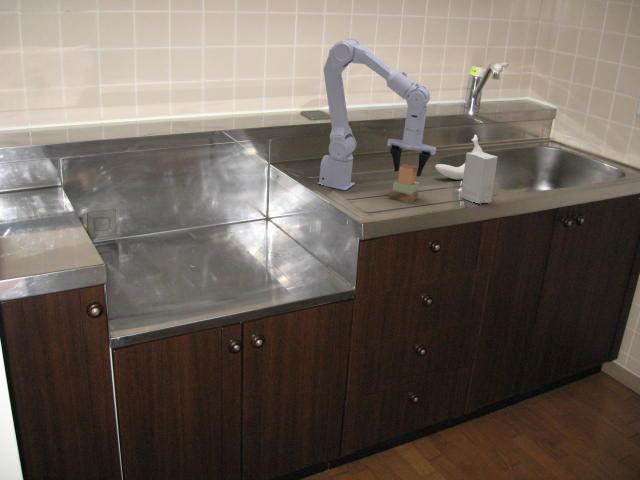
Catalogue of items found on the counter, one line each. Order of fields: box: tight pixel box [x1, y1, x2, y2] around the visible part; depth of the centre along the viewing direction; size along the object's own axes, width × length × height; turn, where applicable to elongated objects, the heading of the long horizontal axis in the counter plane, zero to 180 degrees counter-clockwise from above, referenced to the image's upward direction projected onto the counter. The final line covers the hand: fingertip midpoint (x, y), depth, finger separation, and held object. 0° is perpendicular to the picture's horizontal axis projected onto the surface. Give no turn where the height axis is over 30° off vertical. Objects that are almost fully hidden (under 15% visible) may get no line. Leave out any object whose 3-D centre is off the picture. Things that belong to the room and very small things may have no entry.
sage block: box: [392, 179, 420, 195], centre depth 213 cm, size 6×6×2 cm
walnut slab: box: [388, 188, 420, 205], centre depth 214 cm, size 7×7×3 cm
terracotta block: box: [397, 163, 417, 186], centre depth 212 cm, size 4×4×5 cm
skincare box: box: [460, 151, 499, 204], centre depth 217 cm, size 8×6×15 cm
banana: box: [434, 134, 484, 181], centre depth 237 cm, size 5×19×15 cm, turn 125°
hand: (407, 173), depth 212 cm, fingers open, 6 cm apart
